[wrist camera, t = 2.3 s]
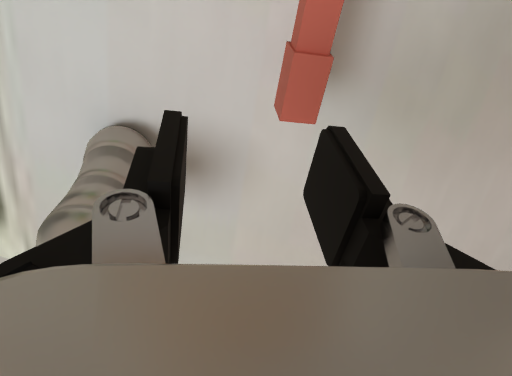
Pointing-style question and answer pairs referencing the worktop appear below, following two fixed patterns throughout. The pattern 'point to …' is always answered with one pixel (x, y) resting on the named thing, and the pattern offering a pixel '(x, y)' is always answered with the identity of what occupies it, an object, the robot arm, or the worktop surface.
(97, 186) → the plastic bottle
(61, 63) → the worktop surface
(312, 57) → the lever
